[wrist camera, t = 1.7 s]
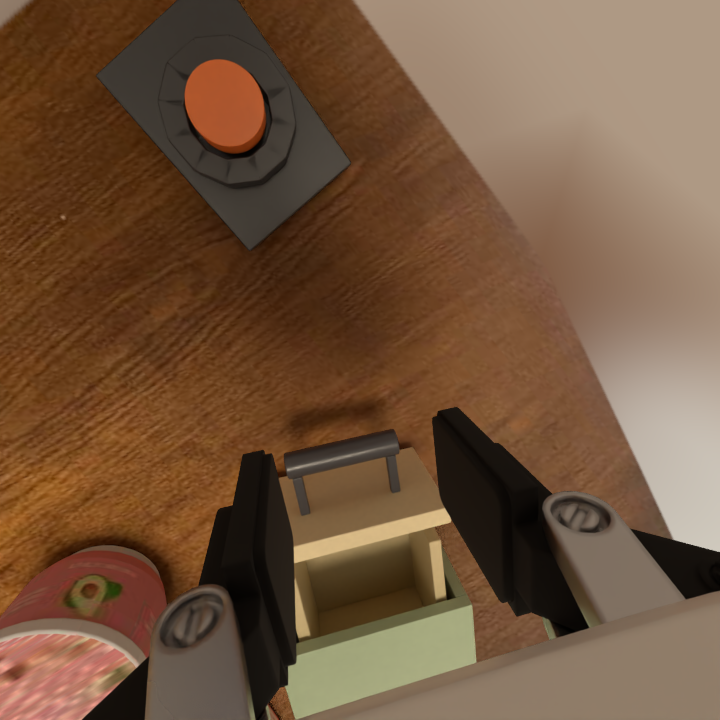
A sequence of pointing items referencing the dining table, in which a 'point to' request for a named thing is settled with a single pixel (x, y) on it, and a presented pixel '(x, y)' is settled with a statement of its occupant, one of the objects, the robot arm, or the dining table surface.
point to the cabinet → (384, 652)
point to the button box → (186, 145)
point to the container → (77, 633)
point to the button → (225, 106)
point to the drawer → (362, 533)
